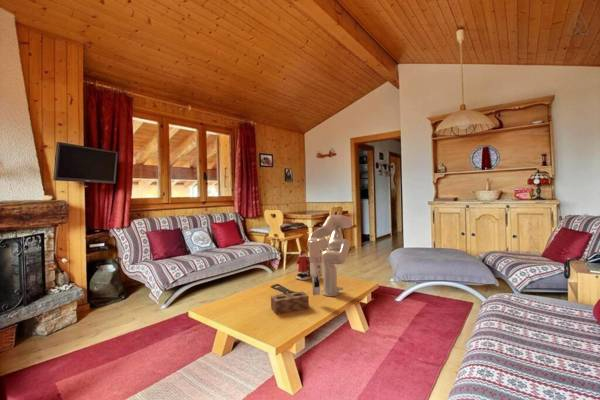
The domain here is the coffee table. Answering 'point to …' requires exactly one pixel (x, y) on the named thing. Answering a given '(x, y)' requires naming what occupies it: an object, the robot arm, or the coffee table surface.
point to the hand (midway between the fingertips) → (316, 286)
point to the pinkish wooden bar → (316, 290)
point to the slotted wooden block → (289, 302)
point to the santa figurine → (303, 267)
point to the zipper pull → (282, 289)
